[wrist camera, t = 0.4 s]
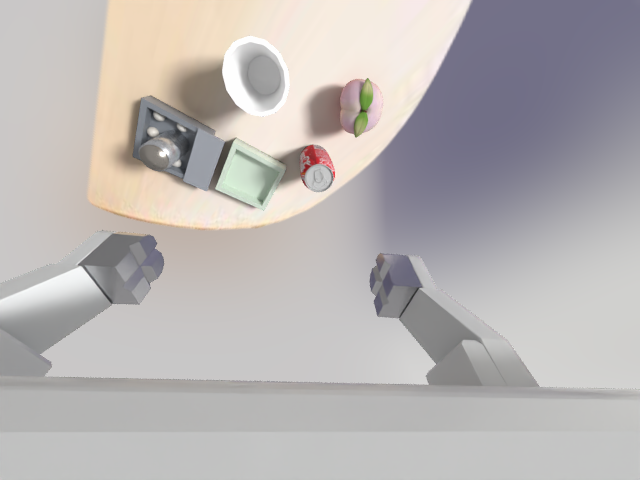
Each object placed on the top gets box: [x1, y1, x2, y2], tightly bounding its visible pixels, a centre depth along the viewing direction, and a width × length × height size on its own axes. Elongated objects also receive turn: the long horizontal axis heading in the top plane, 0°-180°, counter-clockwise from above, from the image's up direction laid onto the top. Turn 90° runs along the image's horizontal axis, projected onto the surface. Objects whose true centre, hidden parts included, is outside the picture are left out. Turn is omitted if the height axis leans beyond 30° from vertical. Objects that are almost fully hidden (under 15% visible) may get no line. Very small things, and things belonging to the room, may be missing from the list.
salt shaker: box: [138, 130, 189, 171], centre depth 43 cm, size 5×5×10 cm
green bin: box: [215, 138, 286, 211], centre depth 53 cm, size 12×12×4 cm
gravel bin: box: [133, 96, 225, 191], centre depth 47 cm, size 12×15×4 cm
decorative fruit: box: [340, 78, 383, 137], centre depth 43 cm, size 9×8×10 cm
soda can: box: [299, 145, 335, 192], centre depth 49 cm, size 7×7×12 cm
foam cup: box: [222, 36, 290, 117], centre depth 38 cm, size 10×9×13 cm
